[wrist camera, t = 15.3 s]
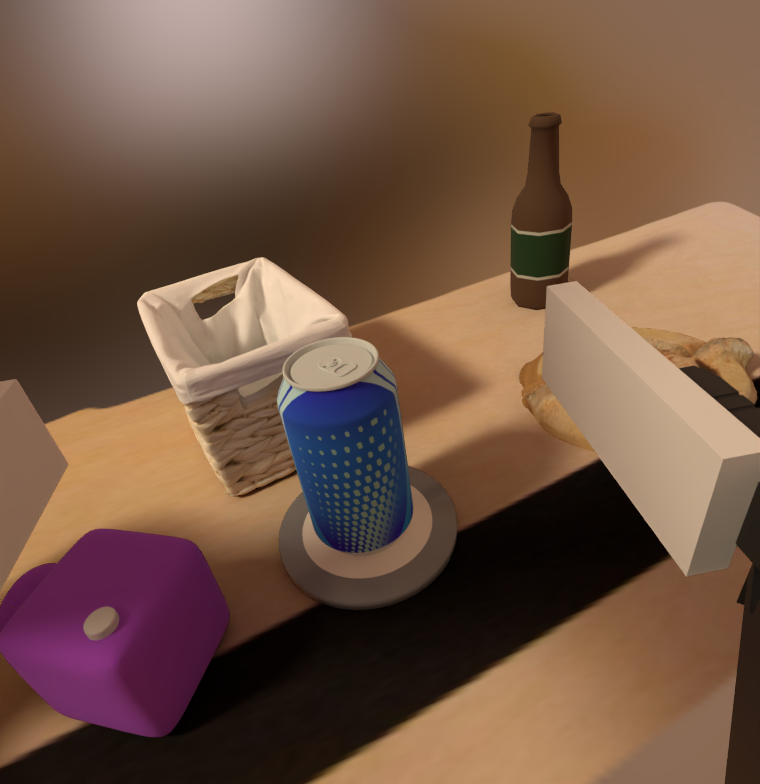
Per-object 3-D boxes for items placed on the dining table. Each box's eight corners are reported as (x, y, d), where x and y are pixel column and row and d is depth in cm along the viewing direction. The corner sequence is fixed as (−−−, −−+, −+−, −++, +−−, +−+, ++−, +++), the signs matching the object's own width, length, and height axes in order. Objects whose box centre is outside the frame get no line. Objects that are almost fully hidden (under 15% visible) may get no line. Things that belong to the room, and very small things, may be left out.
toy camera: (84, 599, 43) (22, 514, 38) (245, 593, 42) (205, 504, 36) (-1, 746, 35) (-98, 664, 29) (199, 747, 33) (137, 660, 27)
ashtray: (823, 401, 52) (841, 357, 49) (659, 512, 43) (669, 467, 41) (619, 320, 70) (624, 285, 67) (475, 388, 61) (473, 350, 58)
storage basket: (174, 400, 67) (129, 292, 59) (293, 355, 73) (266, 251, 65) (225, 516, 49) (170, 384, 41) (377, 445, 55) (355, 316, 46)
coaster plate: (278, 627, 39) (275, 619, 38) (283, 485, 51) (281, 478, 51) (479, 588, 39) (479, 580, 39) (435, 457, 52) (435, 449, 51)
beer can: (317, 574, 41) (265, 407, 32) (314, 497, 48) (270, 342, 39) (424, 552, 41) (402, 381, 32) (405, 479, 48) (382, 322, 39)
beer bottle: (512, 287, 81) (514, 112, 68) (566, 287, 79) (579, 106, 65) (507, 310, 75) (509, 123, 62) (566, 311, 73) (580, 116, 59)
